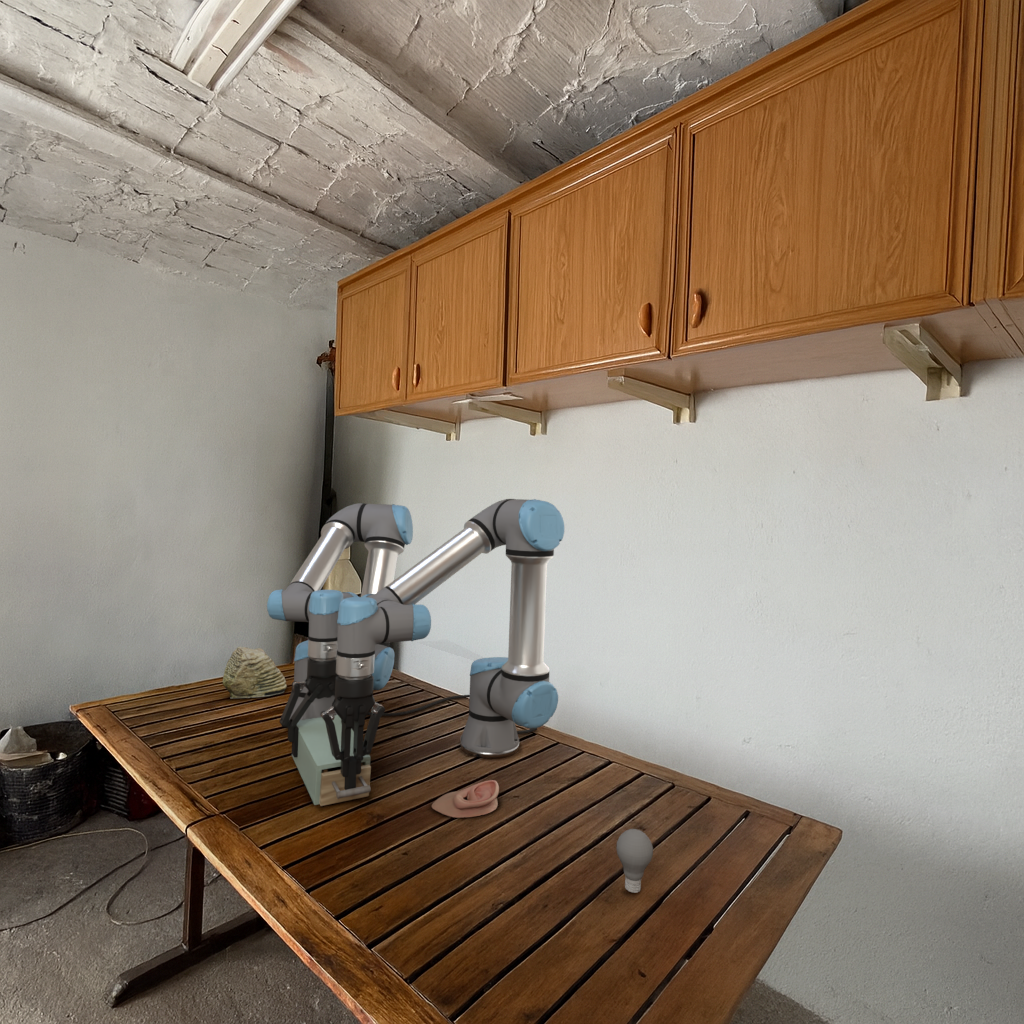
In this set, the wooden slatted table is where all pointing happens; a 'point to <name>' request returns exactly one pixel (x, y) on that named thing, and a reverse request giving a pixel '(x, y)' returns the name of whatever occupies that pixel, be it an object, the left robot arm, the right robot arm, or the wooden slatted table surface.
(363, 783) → the drawer
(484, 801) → the anatomical model
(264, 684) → the fossil
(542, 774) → the wooden slatted table surface
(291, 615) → the left robot arm
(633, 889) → the light bulb
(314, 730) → the cabinet
